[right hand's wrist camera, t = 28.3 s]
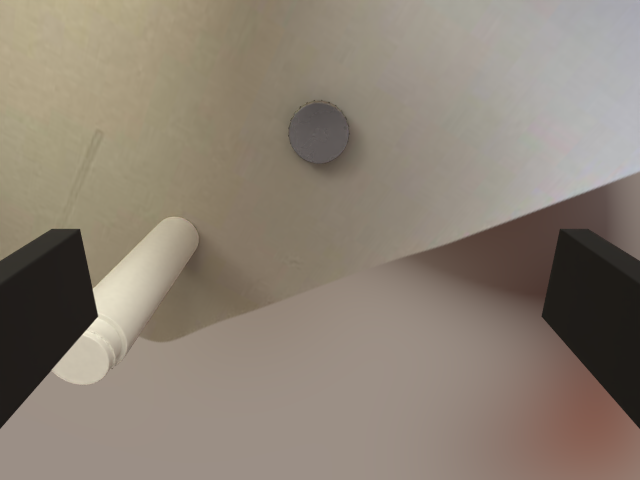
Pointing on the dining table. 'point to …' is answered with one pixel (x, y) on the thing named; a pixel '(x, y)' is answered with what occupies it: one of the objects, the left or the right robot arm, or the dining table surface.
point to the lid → (318, 132)
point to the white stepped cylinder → (129, 300)
